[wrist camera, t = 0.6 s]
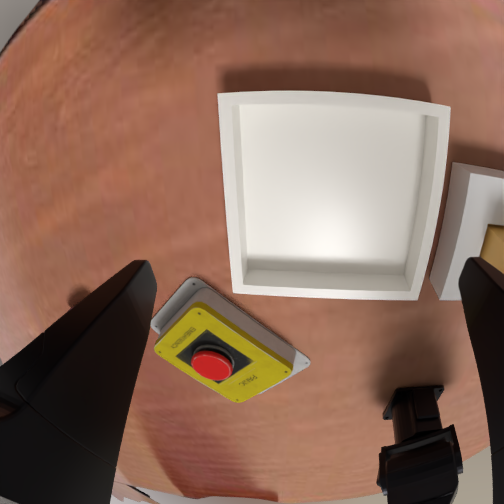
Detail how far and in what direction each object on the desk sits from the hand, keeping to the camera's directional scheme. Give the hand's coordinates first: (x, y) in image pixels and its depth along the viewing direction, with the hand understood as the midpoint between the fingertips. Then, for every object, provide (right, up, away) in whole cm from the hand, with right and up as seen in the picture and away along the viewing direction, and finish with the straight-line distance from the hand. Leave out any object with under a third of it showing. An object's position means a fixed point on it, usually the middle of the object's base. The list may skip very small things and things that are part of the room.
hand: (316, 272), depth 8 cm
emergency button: (-4, -8, +23) cm, 25 cm away
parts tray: (+4, +5, +13) cm, 15 cm away
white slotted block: (+18, +2, +12) cm, 22 cm away
